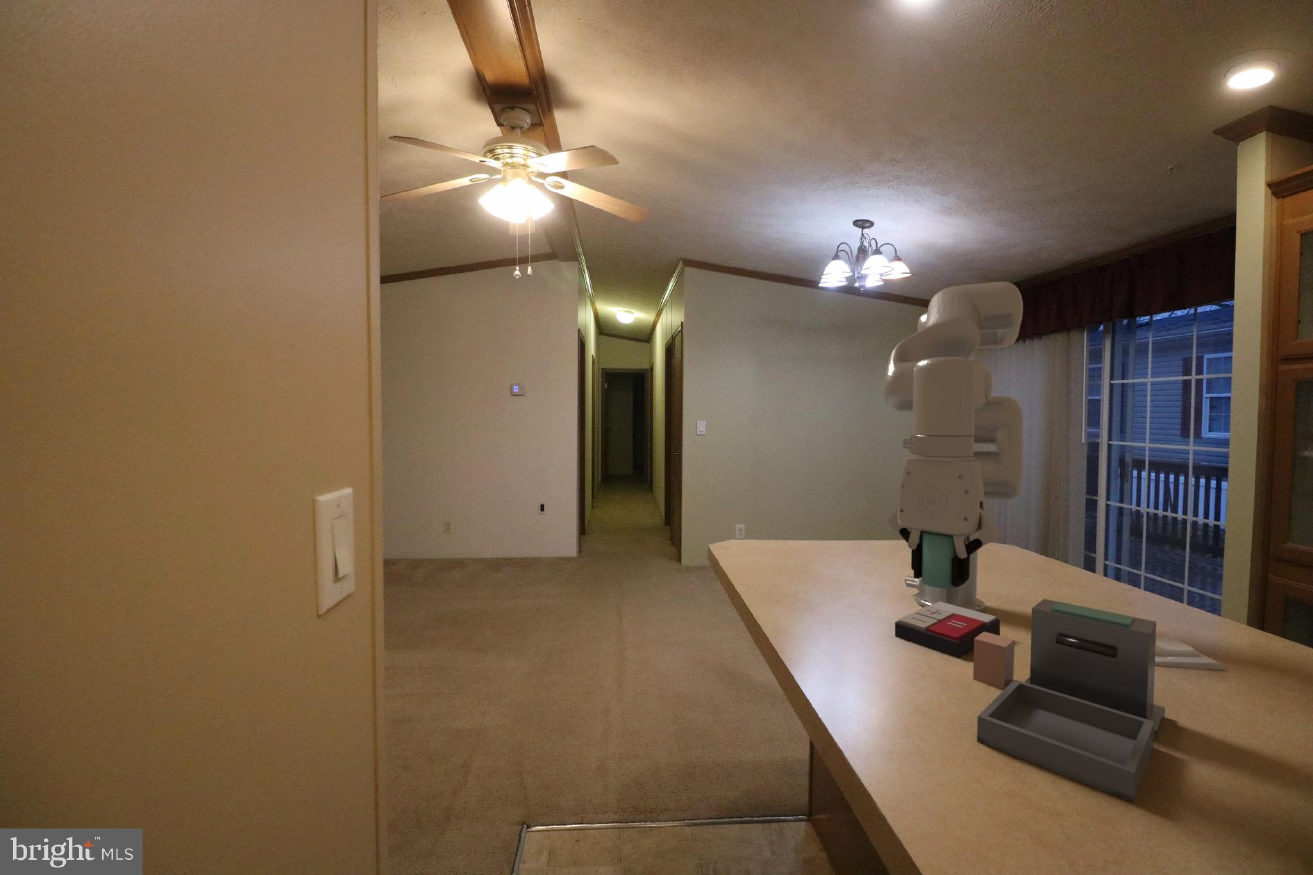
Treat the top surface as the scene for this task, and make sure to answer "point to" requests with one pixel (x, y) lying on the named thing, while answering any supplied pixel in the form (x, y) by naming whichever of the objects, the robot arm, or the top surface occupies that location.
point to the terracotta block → (993, 659)
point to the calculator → (946, 628)
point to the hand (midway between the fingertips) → (939, 579)
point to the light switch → (1181, 655)
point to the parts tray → (1069, 737)
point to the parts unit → (1095, 657)
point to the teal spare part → (937, 559)
